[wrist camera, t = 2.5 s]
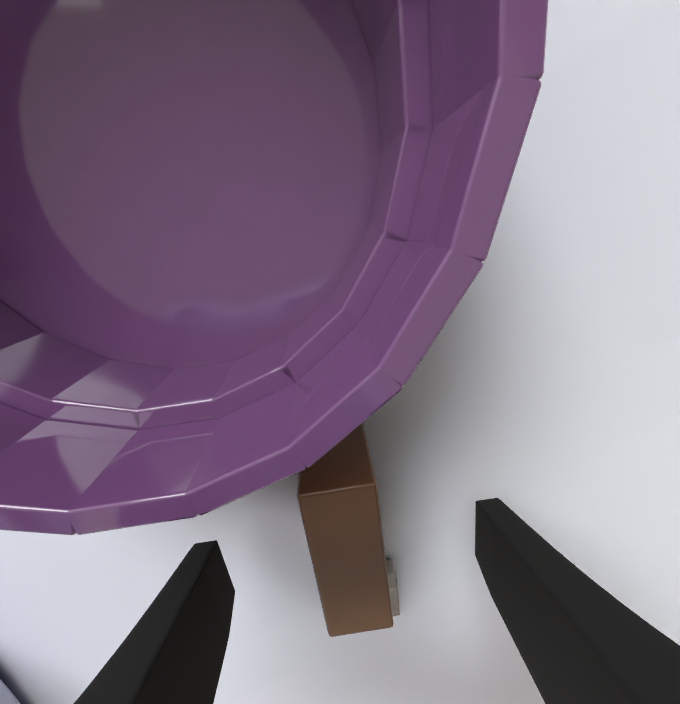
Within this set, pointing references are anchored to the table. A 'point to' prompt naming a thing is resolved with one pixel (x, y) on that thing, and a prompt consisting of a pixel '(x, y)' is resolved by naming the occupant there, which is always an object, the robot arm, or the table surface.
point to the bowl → (233, 233)
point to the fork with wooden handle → (348, 539)
